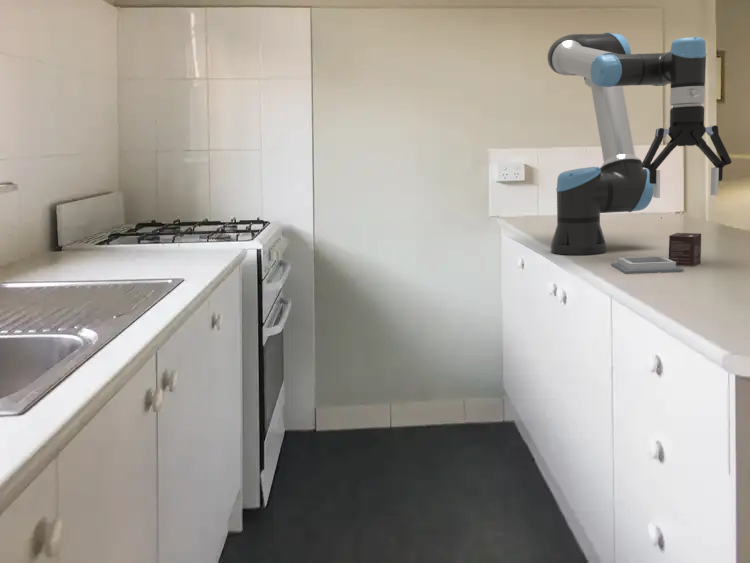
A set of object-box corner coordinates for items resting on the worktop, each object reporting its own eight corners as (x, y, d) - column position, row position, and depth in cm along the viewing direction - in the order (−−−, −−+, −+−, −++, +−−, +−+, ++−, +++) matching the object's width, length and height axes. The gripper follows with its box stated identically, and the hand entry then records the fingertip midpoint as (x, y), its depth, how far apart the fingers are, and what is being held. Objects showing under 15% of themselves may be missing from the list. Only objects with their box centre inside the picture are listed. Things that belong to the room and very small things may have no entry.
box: (676, 261, 191) (676, 232, 190) (701, 263, 187) (702, 233, 186) (667, 265, 186) (668, 235, 185) (693, 266, 183) (694, 236, 181)
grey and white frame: (611, 265, 189) (611, 257, 189) (665, 263, 188) (665, 255, 188) (625, 273, 176) (625, 264, 176) (683, 271, 176) (683, 262, 175)
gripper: (637, 107, 178) (636, 199, 181) (748, 102, 176) (745, 194, 179) (629, 109, 185) (628, 197, 188) (734, 104, 183) (732, 193, 187)
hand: (685, 196), depth 184 cm, fingers open, 13 cm apart
